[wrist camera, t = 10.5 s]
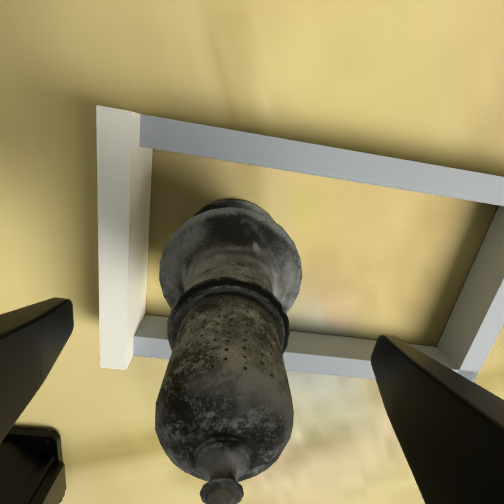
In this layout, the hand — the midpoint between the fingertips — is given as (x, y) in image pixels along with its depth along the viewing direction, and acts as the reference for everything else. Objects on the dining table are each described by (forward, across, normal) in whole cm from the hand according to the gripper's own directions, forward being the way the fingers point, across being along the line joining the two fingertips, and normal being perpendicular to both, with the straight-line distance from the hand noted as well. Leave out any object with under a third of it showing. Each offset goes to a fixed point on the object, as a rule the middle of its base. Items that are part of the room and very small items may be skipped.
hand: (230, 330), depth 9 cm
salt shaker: (+8, 0, 0) cm, 8 cm away
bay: (+7, -4, 0) cm, 9 cm away
